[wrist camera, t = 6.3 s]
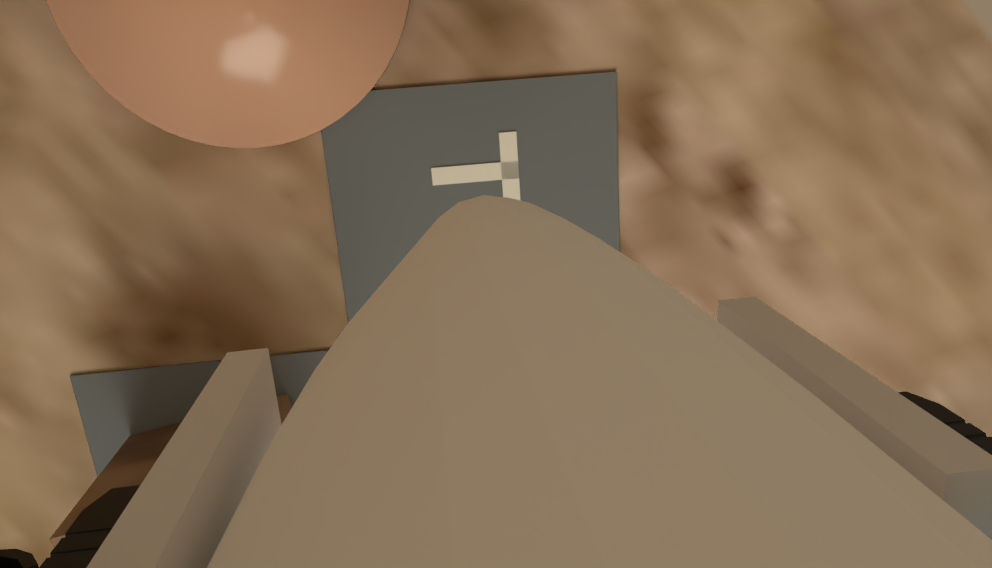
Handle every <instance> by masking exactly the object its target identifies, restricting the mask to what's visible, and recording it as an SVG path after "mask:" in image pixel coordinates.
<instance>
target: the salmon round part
mask: <svg viewBox="0 0 992 568" xmlns="http://www.w3.org/2000/svg"><path fill="white" fill-rule="evenodd" d="M46 1H47V4H48V6H49V8H50V11H51V13H52V15H53V17H54V20H55V22H56V24H57V27H58V28H59V30H60V32H61V33H62V35H63V37H64V39H65V40H66V42H67V44H68V45H69V47H70V49H71V50H72V52H73V53H74V54H75V56H76V57H77V58H78V60H79V61H80V62H81V64H82V65H83V66H84V68H85V69H86V70H87V72H88V73H89V74H90V75H91V76H92V77H93V78H94V79H95V80H96V81H97V82H98V83H99V84H100V85H101V87H102V88H103V89H104V90H105V91H107V92H108V93H109V94H110V95H111V96H112V97H114V98H115V99H116V100H117V101H118V102H120V103H121V104H122V105H123V106H124V107H126V108H127V109H129V110H130V111H132V112H133V113H135V114H136V115H138V116H139V117H141V118H142V119H144V120H145V121H147V122H149V123H151V124H153V125H155V126H157V127H159V128H161V129H163V130H165V131H167V132H169V133H172V134H174V135H177V136H180V137H182V138H185V139H188V140H191V141H195V142H199V143H203V144H208V145H212V146H220V147H229V148H261V147H268V146H275V145H281V144H285V143H288V142H292V141H295V140H298V139H302V138H304V137H306V136H309V135H311V134H313V133H315V132H318V131H320V130H322V129H324V128H325V127H327V126H329V125H330V124H332V123H333V122H335V121H337V120H338V119H340V118H341V117H343V116H344V115H345V114H346V113H347V112H349V111H350V110H351V109H352V108H354V107H355V106H356V105H357V104H358V103H359V102H360V101H361V100H362V99H363V98H364V97H365V96H366V95H367V94H368V93H369V91H370V90H371V89H372V88H373V87H374V86H375V84H376V83H377V81H378V80H379V79H380V77H381V76H382V74H383V73H384V71H385V70H386V68H387V66H388V64H389V63H390V61H391V59H392V57H393V55H394V53H395V51H396V49H397V46H398V43H399V40H400V37H401V35H402V32H403V29H404V26H405V21H406V16H407V12H408V7H409V0H46Z"/></svg>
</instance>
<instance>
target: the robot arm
mask: <svg viewBox="0 0 992 568" xmlns="http://www.w3.org/2000/svg"><path fill="white" fill-rule="evenodd" d="M718 322H719V323H721V324H722V325H723V326H724V327H726V328H727V329H728V330H730V331H731V332H732V333H734V334H735V335H736V336H738V337H739V338H740V339H742V340H743V341H744V342H745V343H747V344H748V345H749V346H751V347H752V348H753V349H755V350H756V351H757V352H759V353H760V354H761V355H763V356H764V357H765V358H766V359H768V360H769V361H770V362H772V363H773V364H774V365H776V366H777V367H778V368H780V369H781V370H782V371H784V372H785V373H786V374H787V375H789V376H790V377H791V378H793V379H794V380H795V381H797V382H798V383H799V384H801V385H802V386H803V387H805V388H806V389H807V390H808V391H810V392H811V393H812V394H813V395H815V396H816V397H817V398H818V399H820V400H821V401H822V402H823V403H824V404H826V405H827V406H828V407H829V408H831V409H832V410H833V411H834V412H835V413H837V414H838V415H839V416H840V417H842V418H843V419H844V420H845V421H847V422H848V423H849V424H850V425H851V426H853V427H854V428H855V429H856V430H858V431H859V432H860V433H861V434H862V435H864V436H865V437H866V438H867V439H869V440H870V441H871V442H872V443H873V444H875V445H876V446H877V447H878V448H880V449H881V450H882V451H883V452H884V453H886V454H887V455H888V456H889V457H891V458H892V459H893V460H894V461H896V462H897V463H898V464H899V465H900V466H902V467H903V468H904V469H905V470H907V471H908V472H909V473H910V474H911V475H913V476H914V477H915V478H916V479H918V480H919V481H920V482H921V483H922V484H924V485H925V486H926V487H927V488H929V489H930V490H931V491H932V492H933V493H935V494H936V495H937V496H938V497H940V498H941V499H942V500H943V501H945V502H946V503H947V504H948V505H949V506H951V507H952V508H953V509H954V510H956V511H957V512H958V513H959V514H960V515H962V516H963V517H964V518H965V519H967V520H968V521H969V522H970V523H971V524H973V525H974V526H975V527H976V528H978V529H979V530H980V531H981V532H983V533H984V534H985V535H986V536H987V537H989V538H990V539H991V540H992V437H986V433H984V432H983V431H981V430H980V429H978V428H977V427H975V426H973V425H972V424H970V423H967V424H966V423H965V420H964V419H962V418H961V417H959V416H958V415H956V414H955V413H953V412H951V411H950V410H948V409H947V408H945V407H944V406H942V405H940V404H938V403H936V402H933V401H930V400H928V399H925V398H922V397H919V396H917V395H914V394H911V393H909V392H899V393H898V392H896V391H895V390H893V389H892V388H890V387H889V386H887V385H886V384H884V383H883V382H881V381H880V380H878V379H877V378H875V377H874V376H872V375H871V374H869V373H868V372H867V371H865V370H864V369H862V368H861V367H859V366H858V365H856V364H855V363H853V362H852V361H850V360H849V359H847V358H846V357H844V356H843V355H841V354H840V353H838V352H837V351H835V350H834V349H832V348H831V347H829V346H828V345H826V344H825V343H823V342H822V341H820V340H819V339H817V338H816V337H814V336H813V335H811V334H810V333H808V332H807V331H805V330H804V329H802V328H801V327H799V326H798V325H796V324H795V323H793V322H792V321H790V320H789V319H787V318H786V317H784V316H783V315H781V314H780V313H778V312H777V311H775V310H774V309H772V308H771V307H769V306H768V305H766V304H765V303H763V302H762V301H760V300H759V299H757V298H756V297H747V298H737V299H728V300H718ZM280 427H281V419H280V413H279V407H278V402H277V396H276V390H275V385H274V379H273V373H272V367H271V362H270V356H269V350H268V348H263V349H253V350H244V351H234V352H227V354H226V355H225V357H224V358H223V360H222V361H221V363H220V364H219V366H218V367H217V369H216V370H215V372H214V373H213V375H212V377H211V378H210V380H209V381H208V383H207V384H206V386H205V387H204V389H203V390H202V392H201V393H200V395H199V396H198V398H197V399H196V401H195V403H194V404H193V406H192V407H191V409H190V410H189V412H188V413H187V415H186V416H185V418H184V419H183V421H182V422H181V424H180V425H179V427H178V429H177V430H176V432H175V433H174V435H173V436H172V438H171V439H170V441H169V442H168V444H167V445H166V447H165V448H164V450H163V451H162V453H161V455H160V456H159V458H158V459H157V461H156V462H155V464H154V465H153V467H152V468H151V470H150V471H149V473H148V474H147V476H146V477H145V479H144V481H143V482H142V484H141V485H136V486H128V487H119V488H112V489H110V490H109V491H108V492H106V493H105V494H104V495H102V496H101V497H100V498H98V499H97V500H95V501H94V502H93V503H91V504H90V505H89V506H87V507H86V508H85V509H83V510H82V512H81V513H80V514H79V516H78V517H77V518H76V520H75V521H74V522H73V524H72V525H71V526H70V528H69V529H68V530H67V532H66V533H65V538H61V540H60V541H59V542H58V544H57V545H56V546H55V548H54V549H53V550H52V552H51V557H50V558H46V560H45V561H44V562H43V564H42V565H41V566H40V568H207V566H208V564H209V562H210V560H211V558H212V556H213V554H214V552H215V550H216V548H217V546H218V544H219V542H220V540H221V538H222V536H223V534H224V532H225V531H226V529H227V527H228V525H229V523H230V521H231V519H232V517H233V515H234V513H235V511H236V509H237V507H238V505H239V503H240V501H241V499H242V497H243V495H244V493H245V491H246V489H247V487H248V485H249V483H250V481H251V479H252V477H253V475H254V473H255V471H256V469H257V468H258V466H259V464H260V462H261V460H262V458H263V457H264V455H265V453H266V451H267V449H268V447H269V446H270V444H271V442H272V440H273V438H274V437H275V435H276V433H277V432H278V430H279V428H280ZM0 568H39V567H38V564H37V562H36V560H35V559H34V557H33V555H32V554H31V553H28V552H25V551H21V550H18V549H4V550H0Z"/></svg>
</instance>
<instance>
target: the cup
mask: <svg viewBox="0 0 992 568" xmlns="http://www.w3.org/2000/svg"><path fill="white" fill-rule="evenodd" d="M207 568H992V540H991V539H990V538H989V537H987V536H986V535H985V534H984V533H983V532H981V531H980V530H979V529H978V528H976V527H975V526H974V525H973V524H971V523H970V522H969V521H968V520H967V519H965V518H964V517H963V516H962V515H960V514H959V513H958V512H957V511H956V510H954V509H953V508H952V507H951V506H949V505H948V504H947V503H946V502H945V501H943V500H942V499H941V498H940V497H938V496H937V495H936V494H935V493H933V492H932V491H931V490H930V489H929V488H927V487H926V486H925V485H924V484H922V483H921V482H920V481H919V480H918V479H916V478H915V477H914V476H913V475H911V474H910V473H909V472H908V471H907V470H905V469H904V468H903V467H902V466H900V465H899V464H898V463H897V462H896V461H894V460H893V459H892V458H891V457H889V456H888V455H887V454H886V453H884V452H883V451H882V450H881V449H880V448H878V447H877V446H876V445H875V444H873V443H872V442H871V441H870V440H869V439H867V438H866V437H865V436H864V435H862V434H861V433H860V432H859V431H858V430H856V429H855V428H854V427H853V426H851V425H850V424H849V423H848V422H847V421H845V420H844V419H843V418H842V417H840V416H839V415H838V414H837V413H835V412H834V411H833V410H832V409H831V408H829V407H828V406H827V405H826V404H824V403H823V402H822V401H821V400H820V399H818V398H817V397H816V396H815V395H813V394H812V393H811V392H810V391H808V390H807V389H806V388H805V387H803V386H802V385H801V384H799V383H798V382H797V381H795V380H794V379H793V378H791V377H790V376H789V375H787V374H786V373H785V372H784V371H782V370H781V369H780V368H778V367H777V366H776V365H774V364H773V363H772V362H770V361H769V360H768V359H766V358H765V357H764V356H763V355H761V354H760V353H759V352H757V351H756V350H755V349H753V348H752V347H751V346H749V345H748V344H747V343H745V342H744V341H743V340H742V339H740V338H739V337H738V336H736V335H735V334H734V333H732V332H731V331H730V330H728V329H727V328H726V327H724V326H723V325H722V324H721V323H719V322H718V321H717V320H715V319H714V318H713V317H711V316H710V315H709V314H707V313H706V312H705V311H703V310H702V309H701V308H700V307H698V306H697V305H696V304H694V303H693V302H692V301H690V300H689V299H688V298H686V297H685V296H684V295H682V294H681V293H680V292H679V291H677V290H676V289H674V288H673V287H671V286H670V285H668V284H667V283H665V282H664V281H662V280H661V279H659V278H658V277H656V276H655V275H653V274H652V273H650V272H649V271H647V270H646V269H644V268H643V267H641V266H640V265H638V264H637V263H635V262H634V261H632V260H631V259H629V258H628V257H626V256H625V255H623V254H622V253H620V252H619V251H617V250H616V249H614V248H613V247H611V246H610V245H608V244H607V243H605V242H604V241H602V240H601V239H599V238H598V237H596V236H594V235H592V234H590V233H589V232H587V231H585V230H583V229H582V228H580V227H578V226H576V225H575V224H573V223H571V222H569V221H568V220H566V219H564V218H562V217H560V216H558V215H556V214H554V213H551V212H549V211H547V210H545V209H543V208H540V207H538V206H536V205H534V204H532V203H529V202H525V201H520V200H516V199H512V198H505V197H496V196H488V195H482V196H479V197H475V198H472V199H468V200H465V201H461V202H458V203H457V204H456V205H454V206H453V207H452V208H450V209H449V210H448V211H447V212H445V213H444V214H443V215H441V216H440V217H439V218H438V219H437V220H436V221H435V222H434V223H433V225H432V226H431V227H430V228H429V229H428V230H427V232H426V233H425V234H424V235H423V236H422V237H421V239H420V240H419V241H418V242H417V243H416V244H415V246H414V247H413V248H412V249H411V250H410V251H409V253H408V254H407V255H406V256H405V257H404V258H403V260H402V261H401V262H400V263H399V264H398V265H397V267H396V268H395V269H394V270H393V271H392V272H391V274H390V275H389V276H388V277H387V278H386V279H385V281H384V282H383V283H382V284H381V285H380V286H379V288H378V289H377V290H376V291H375V292H374V293H373V295H372V296H371V297H370V298H369V299H368V300H367V302H366V303H365V304H364V305H363V306H362V307H361V309H360V310H359V311H358V312H357V313H356V314H355V316H354V317H353V318H352V319H351V320H350V321H349V323H348V324H347V325H346V326H345V327H344V329H343V330H342V332H341V333H340V335H339V336H338V337H337V339H336V340H335V342H334V343H333V345H332V346H331V347H330V349H329V350H328V352H327V353H326V355H325V356H324V357H323V359H322V360H321V362H320V363H319V365H318V366H317V367H316V369H315V370H314V372H313V373H312V375H311V377H310V378H309V380H308V382H307V383H306V385H305V387H304V388H303V390H302V392H301V393H300V395H299V397H298V398H297V400H296V402H295V403H294V405H293V407H292V408H291V410H290V412H289V413H288V415H287V417H286V418H285V420H284V422H283V423H282V425H281V427H280V428H279V430H278V432H277V433H276V435H275V437H274V438H273V440H272V442H271V444H270V446H269V447H268V449H267V451H266V453H265V455H264V457H263V458H262V460H261V462H260V464H259V466H258V468H257V469H256V471H255V473H254V475H253V477H252V479H251V481H250V483H249V485H248V487H247V489H246V491H245V493H244V495H243V497H242V499H241V501H240V503H239V505H238V507H237V509H236V511H235V513H234V515H233V517H232V519H231V521H230V523H229V525H228V527H227V529H226V531H225V532H224V534H223V536H222V538H221V540H220V542H219V544H218V546H217V548H216V550H215V552H214V554H213V556H212V558H211V560H210V562H209V564H208V566H207Z"/></svg>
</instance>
